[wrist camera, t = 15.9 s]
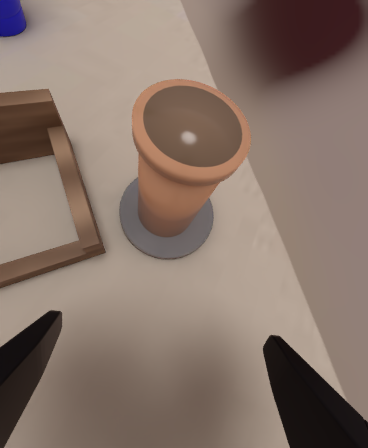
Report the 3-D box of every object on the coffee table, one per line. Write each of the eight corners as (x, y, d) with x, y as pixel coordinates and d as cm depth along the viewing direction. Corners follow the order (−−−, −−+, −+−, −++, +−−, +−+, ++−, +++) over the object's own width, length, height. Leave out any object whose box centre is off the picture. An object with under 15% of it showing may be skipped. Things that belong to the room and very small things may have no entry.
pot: (160, 253, 22) (189, 200, 10) (120, 203, 23) (105, 101, 11) (207, 217, 25) (273, 141, 13) (170, 173, 26) (199, 66, 14)
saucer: (195, 273, 24) (198, 272, 23) (103, 237, 23) (101, 234, 22) (219, 195, 28) (223, 190, 27) (142, 162, 27) (143, 156, 26)
